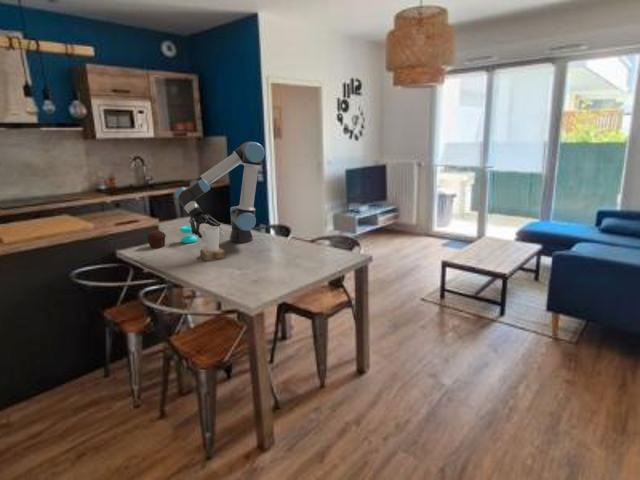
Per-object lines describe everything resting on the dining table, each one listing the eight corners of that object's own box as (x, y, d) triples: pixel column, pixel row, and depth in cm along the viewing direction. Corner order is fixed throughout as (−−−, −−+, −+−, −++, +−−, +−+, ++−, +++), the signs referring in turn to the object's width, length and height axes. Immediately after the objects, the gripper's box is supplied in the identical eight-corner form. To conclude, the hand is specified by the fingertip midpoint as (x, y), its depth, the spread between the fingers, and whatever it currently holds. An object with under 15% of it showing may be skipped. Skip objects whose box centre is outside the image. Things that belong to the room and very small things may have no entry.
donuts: (177, 226, 271) (192, 224, 277) (179, 241, 274) (194, 238, 279) (182, 229, 263) (197, 227, 269) (184, 244, 266) (199, 242, 271)
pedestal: (220, 252, 247) (220, 246, 246) (226, 257, 237) (225, 251, 236) (200, 255, 242) (199, 249, 241) (205, 261, 231) (204, 254, 230)
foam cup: (217, 252, 233) (215, 230, 230) (202, 252, 235) (199, 230, 231) (223, 247, 242) (221, 226, 239) (209, 247, 244) (207, 226, 240)
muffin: (154, 250, 255) (152, 234, 252) (144, 247, 261) (142, 232, 258) (170, 245, 264) (169, 230, 261) (161, 243, 270) (159, 228, 268)
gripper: (207, 211, 251) (227, 237, 247) (173, 218, 231) (194, 247, 227) (212, 203, 247) (233, 230, 243) (179, 210, 227) (200, 239, 223)
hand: (214, 238), depth 235 cm, fingers open, 13 cm apart
